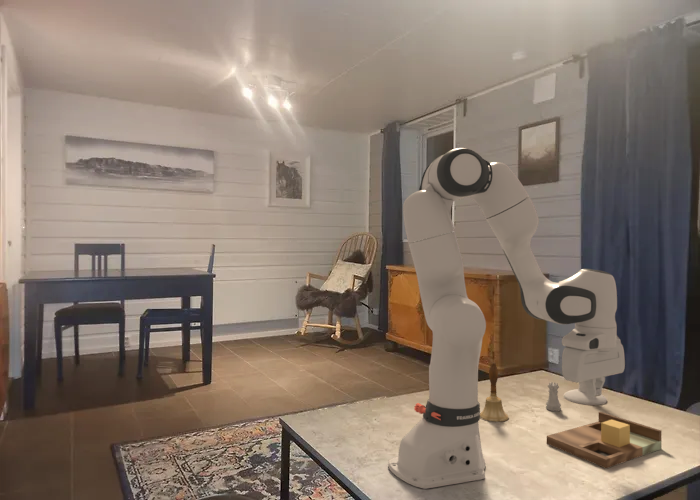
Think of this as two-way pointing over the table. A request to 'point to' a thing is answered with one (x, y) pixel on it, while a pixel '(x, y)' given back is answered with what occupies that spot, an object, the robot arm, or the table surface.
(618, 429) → the block
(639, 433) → the box
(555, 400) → the rook chess piece
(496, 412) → the hand bell
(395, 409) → the table surface
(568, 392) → the candlestick
